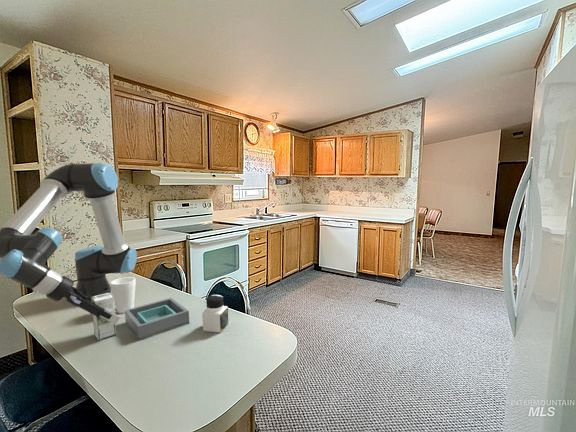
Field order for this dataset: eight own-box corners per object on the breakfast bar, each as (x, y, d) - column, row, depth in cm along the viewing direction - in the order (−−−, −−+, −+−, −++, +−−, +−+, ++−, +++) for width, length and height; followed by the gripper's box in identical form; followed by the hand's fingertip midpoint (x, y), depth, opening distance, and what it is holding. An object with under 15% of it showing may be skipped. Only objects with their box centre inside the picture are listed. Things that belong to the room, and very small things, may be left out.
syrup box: (112, 329, 111) (108, 291, 110) (116, 334, 107) (113, 296, 105) (94, 334, 107) (90, 296, 106) (98, 341, 103) (94, 300, 101)
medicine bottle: (221, 333, 108) (219, 301, 106) (202, 331, 109) (201, 299, 108) (228, 323, 115) (227, 293, 113) (211, 322, 116) (210, 292, 115)
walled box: (125, 322, 117) (124, 310, 116) (171, 308, 129) (171, 297, 128) (139, 340, 104) (138, 326, 103) (189, 323, 115) (188, 311, 115)
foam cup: (115, 316, 122) (112, 286, 120) (110, 309, 129) (108, 280, 127) (140, 310, 128) (138, 280, 127) (134, 303, 135) (132, 275, 134)
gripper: (42, 287, 102) (102, 318, 115) (46, 304, 88) (114, 336, 101) (60, 269, 105) (117, 300, 117) (66, 282, 91) (130, 316, 103)
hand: (115, 317), depth 109 cm, fingers closed on syrup box, 6 cm apart
